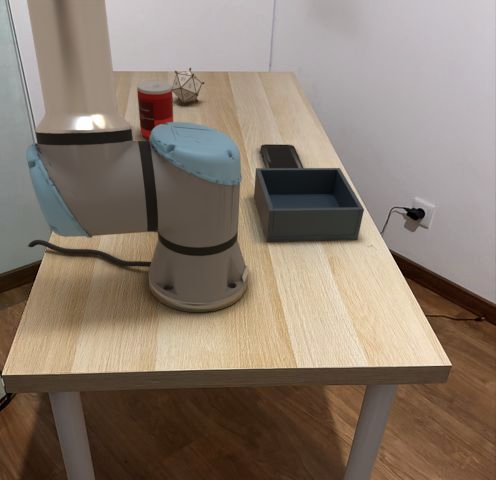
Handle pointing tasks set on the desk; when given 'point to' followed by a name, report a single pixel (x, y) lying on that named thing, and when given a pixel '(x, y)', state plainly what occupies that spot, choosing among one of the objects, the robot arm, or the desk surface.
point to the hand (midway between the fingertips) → (92, 42)
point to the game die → (186, 86)
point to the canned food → (154, 105)
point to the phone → (280, 156)
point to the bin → (306, 204)
